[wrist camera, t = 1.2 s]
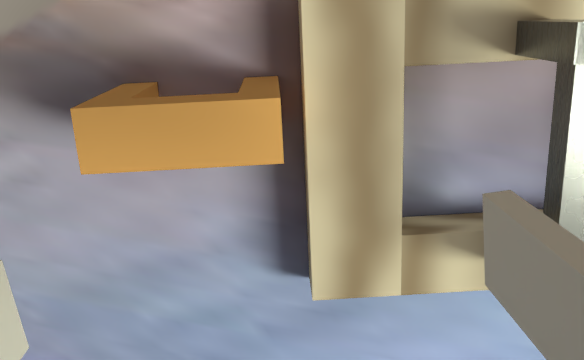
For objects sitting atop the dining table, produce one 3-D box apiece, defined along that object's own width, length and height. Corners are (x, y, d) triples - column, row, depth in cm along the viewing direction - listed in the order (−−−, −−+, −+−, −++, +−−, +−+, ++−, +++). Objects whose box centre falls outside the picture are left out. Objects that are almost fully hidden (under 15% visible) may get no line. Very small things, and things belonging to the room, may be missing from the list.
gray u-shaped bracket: (482, 241, 36) (547, 312, 28) (495, 20, 32) (577, 22, 23) (508, 240, 36) (582, 310, 28) (525, 18, 32) (618, 20, 24)
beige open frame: (309, 278, 37) (312, 300, 34) (297, -5, 31) (300, -7, 28) (674, 256, 37) (708, 276, 34) (723, -25, 32) (768, -29, 29)
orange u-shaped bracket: (130, 133, 33) (81, 174, 25) (123, 83, 32) (70, 108, 24) (280, 125, 33) (283, 163, 25) (277, 75, 33) (280, 97, 24)
